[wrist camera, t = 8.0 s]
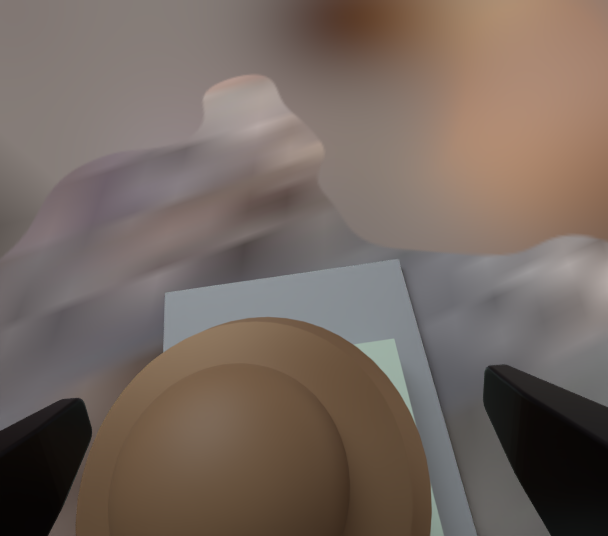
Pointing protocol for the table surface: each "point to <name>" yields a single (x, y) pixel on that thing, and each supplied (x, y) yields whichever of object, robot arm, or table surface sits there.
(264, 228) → the table surface
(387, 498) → the pepper mill
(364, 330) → the well board
